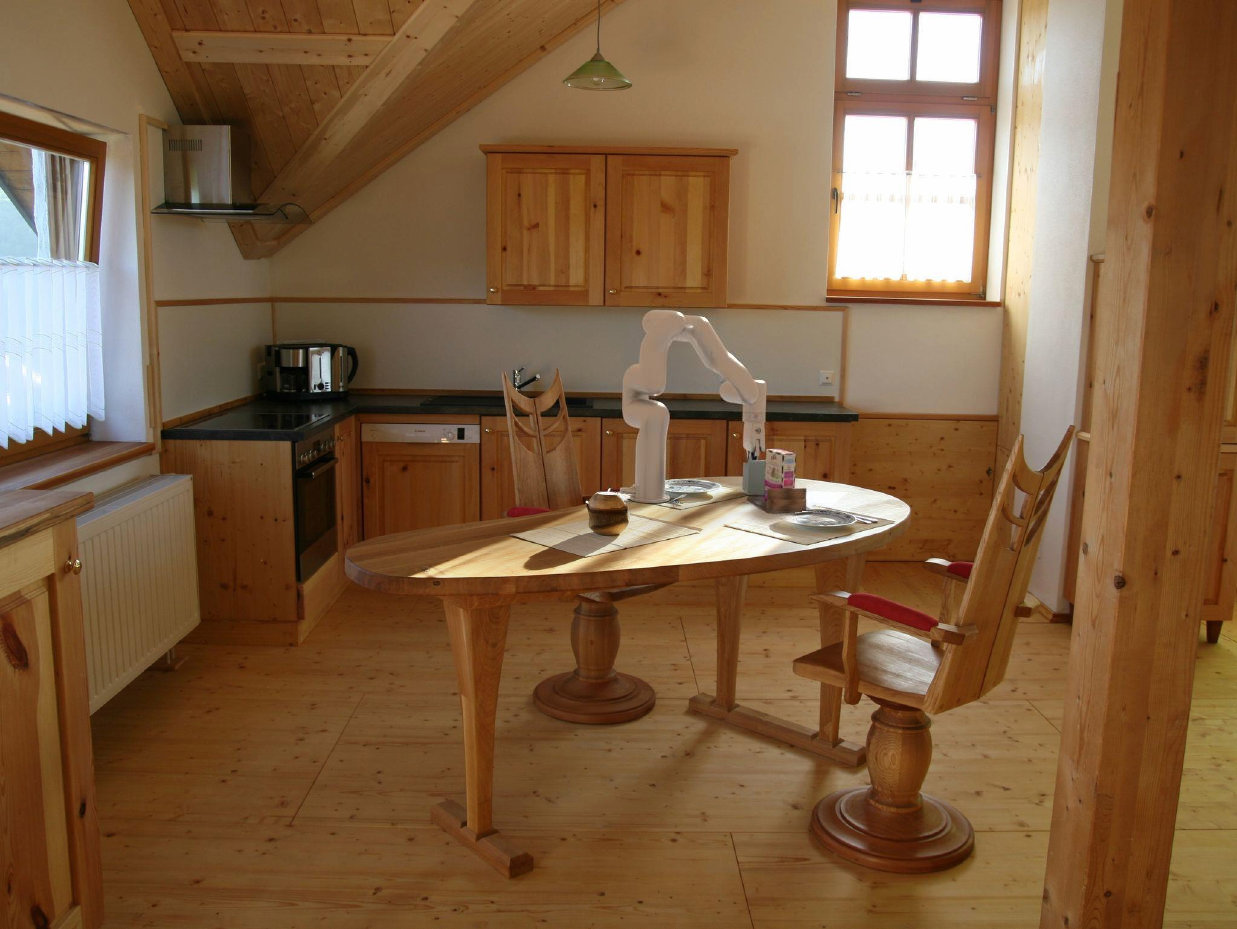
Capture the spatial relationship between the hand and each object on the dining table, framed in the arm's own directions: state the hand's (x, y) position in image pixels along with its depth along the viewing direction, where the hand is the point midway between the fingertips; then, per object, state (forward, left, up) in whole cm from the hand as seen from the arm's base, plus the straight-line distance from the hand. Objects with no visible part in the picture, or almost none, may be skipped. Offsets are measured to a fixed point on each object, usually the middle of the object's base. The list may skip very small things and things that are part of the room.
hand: (752, 471), depth 360 cm
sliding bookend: (0, -10, -5) cm, 12 cm away
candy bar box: (0, -27, -6) cm, 28 cm away
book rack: (0, -27, -6) cm, 28 cm away
